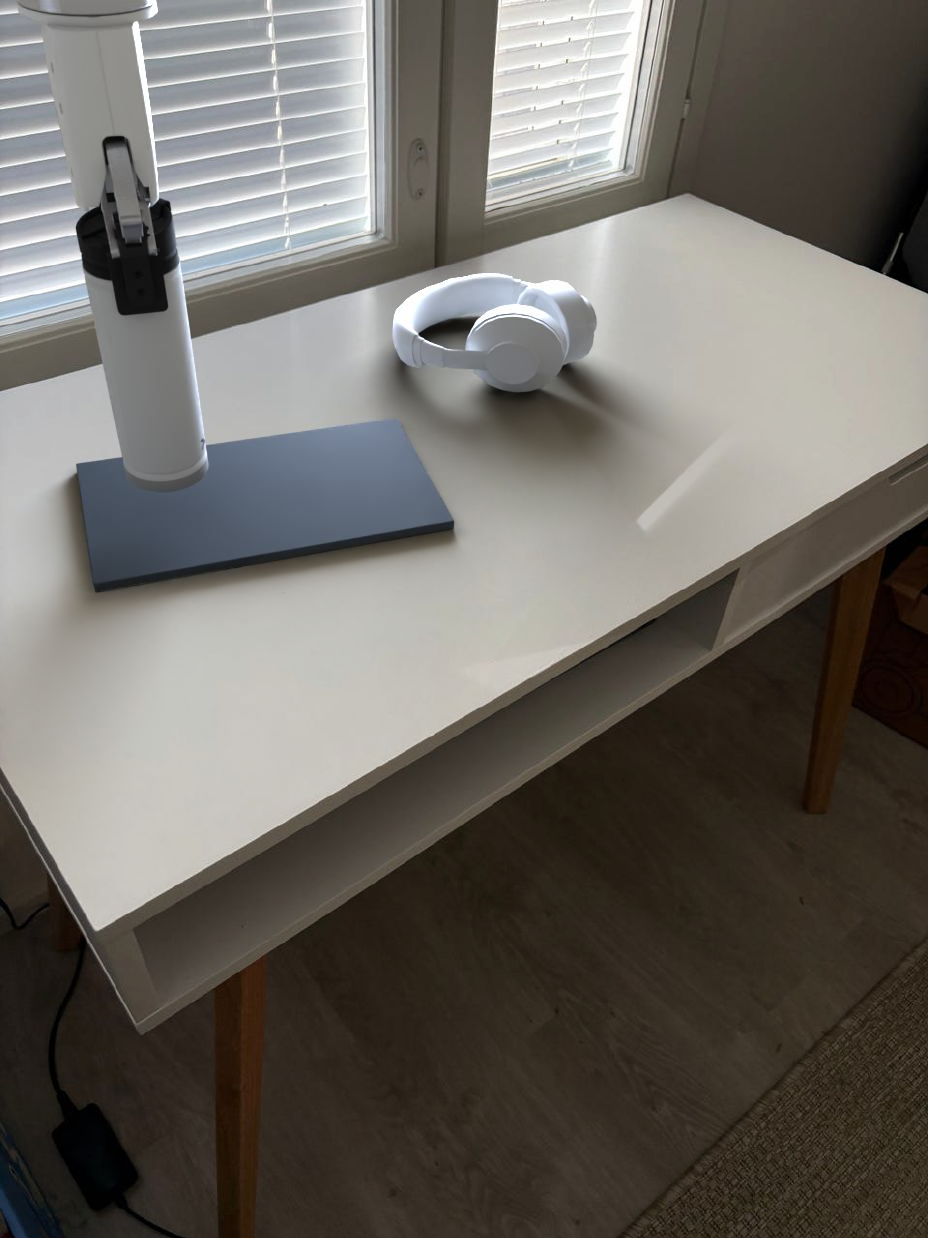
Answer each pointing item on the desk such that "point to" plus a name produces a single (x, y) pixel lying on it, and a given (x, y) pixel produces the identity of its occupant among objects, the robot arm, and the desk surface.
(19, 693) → the desk surface
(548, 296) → the headphones
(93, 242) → the travel mug
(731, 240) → the desk surface
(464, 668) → the desk surface
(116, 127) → the robot arm
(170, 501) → the mat
